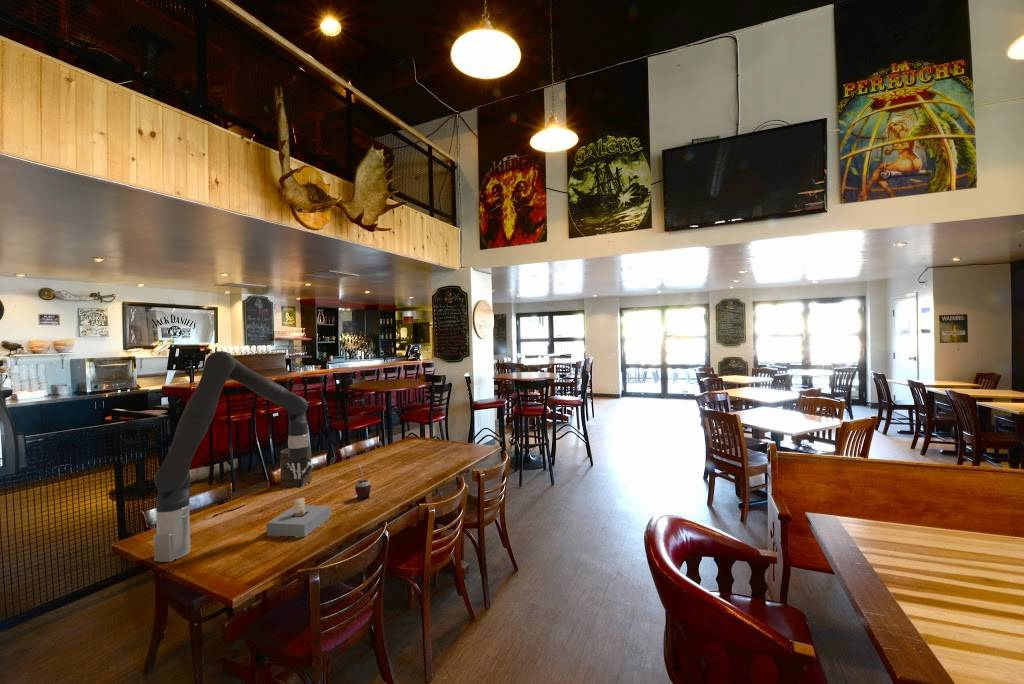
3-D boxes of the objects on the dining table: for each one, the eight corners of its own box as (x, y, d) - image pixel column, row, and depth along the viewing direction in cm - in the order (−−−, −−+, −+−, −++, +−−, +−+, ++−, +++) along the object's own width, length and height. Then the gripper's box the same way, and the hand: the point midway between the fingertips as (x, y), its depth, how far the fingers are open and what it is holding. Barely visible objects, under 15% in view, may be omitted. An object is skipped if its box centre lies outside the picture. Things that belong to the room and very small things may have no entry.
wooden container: (296, 477, 234) (295, 438, 234) (317, 480, 230) (317, 440, 229) (273, 486, 220) (273, 444, 220) (296, 489, 215) (295, 446, 215)
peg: (301, 529, 170) (300, 501, 170) (291, 528, 170) (291, 501, 170) (307, 524, 174) (307, 498, 174) (298, 524, 174) (297, 497, 174)
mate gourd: (366, 501, 198) (365, 469, 198) (350, 500, 199) (350, 469, 199) (374, 495, 205) (373, 464, 205) (359, 494, 207) (358, 464, 207)
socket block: (304, 537, 162) (304, 524, 162) (266, 535, 164) (266, 523, 164) (330, 517, 180) (330, 506, 180) (295, 516, 182) (295, 505, 182)
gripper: (277, 447, 169) (278, 490, 169) (307, 447, 167) (308, 491, 167) (289, 442, 176) (290, 483, 176) (318, 443, 175) (319, 484, 175)
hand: (299, 487), depth 172 cm, fingers closed
